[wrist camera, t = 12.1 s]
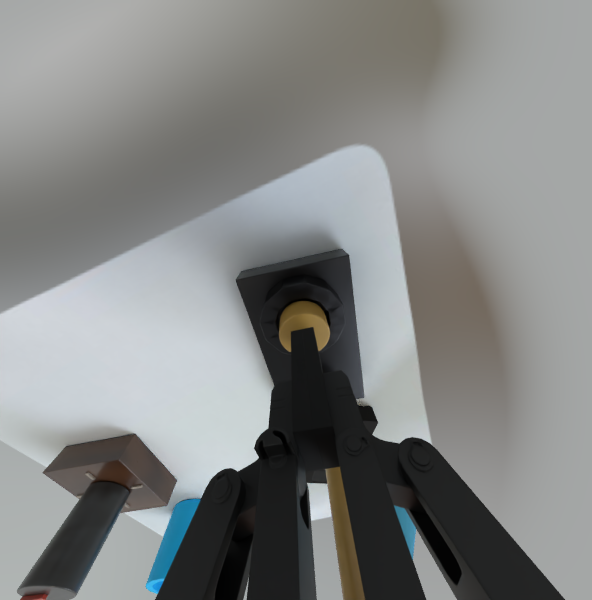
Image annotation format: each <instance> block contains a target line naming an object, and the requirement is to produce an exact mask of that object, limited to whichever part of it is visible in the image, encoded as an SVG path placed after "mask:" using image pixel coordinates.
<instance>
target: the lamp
mask: <svg viewBox="0 0 592 600" xmlns="http://www.w3.org/2000/svg"><path fill="white" fill-rule="evenodd" d="M325 470H326V478H327V485H328V492H329V499H330V507H331V514H332V521H333V528H334V534H335V543H336V550H337V557H338V564H339V571H340V579H341V586H342V593H343V600H365V597H364V592H363V586H362V581H361V576H360V571H359V565H358V560H357V555H356V550H355V544H354V539H353V534H352V529H351V523H350V518H349V513H348V508H347V502H346V497H345V492H344V487H343V482H342V476H341V471H340V467H335V468H329V469H325Z"/></svg>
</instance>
